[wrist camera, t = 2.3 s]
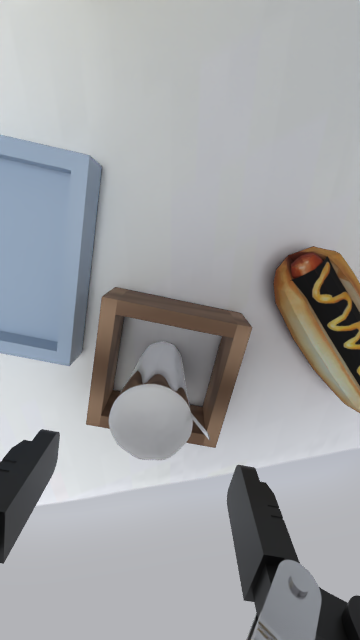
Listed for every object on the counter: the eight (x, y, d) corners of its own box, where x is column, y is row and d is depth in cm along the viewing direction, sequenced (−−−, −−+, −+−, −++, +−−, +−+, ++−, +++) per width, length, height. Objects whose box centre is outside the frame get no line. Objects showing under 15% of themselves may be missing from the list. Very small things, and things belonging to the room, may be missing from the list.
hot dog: (328, 398, 23) (365, 439, 18) (246, 275, 20) (266, 287, 15) (382, 368, 22) (436, 403, 17) (305, 234, 19) (345, 233, 14)
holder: (115, 287, 20) (101, 296, 17) (241, 313, 21) (252, 327, 17) (100, 397, 23) (86, 424, 20) (210, 418, 24) (215, 447, 20)
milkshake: (204, 374, 22) (219, 474, 13) (144, 388, 23) (116, 494, 13) (191, 324, 21) (197, 395, 12) (127, 340, 22) (84, 421, 12)
